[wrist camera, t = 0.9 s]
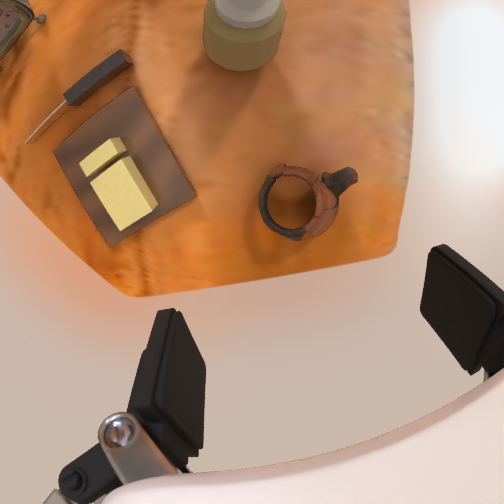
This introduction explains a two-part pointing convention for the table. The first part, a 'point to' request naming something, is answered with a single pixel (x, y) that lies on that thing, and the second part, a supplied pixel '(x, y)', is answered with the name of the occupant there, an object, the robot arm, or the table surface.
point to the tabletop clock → (14, 22)
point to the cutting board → (138, 148)
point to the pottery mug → (324, 195)
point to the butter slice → (102, 156)
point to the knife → (86, 88)
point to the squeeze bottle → (243, 32)
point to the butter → (124, 193)
